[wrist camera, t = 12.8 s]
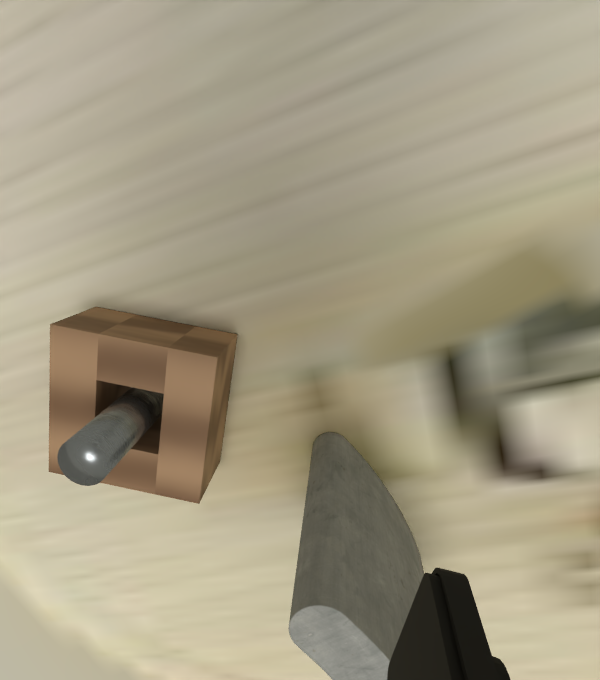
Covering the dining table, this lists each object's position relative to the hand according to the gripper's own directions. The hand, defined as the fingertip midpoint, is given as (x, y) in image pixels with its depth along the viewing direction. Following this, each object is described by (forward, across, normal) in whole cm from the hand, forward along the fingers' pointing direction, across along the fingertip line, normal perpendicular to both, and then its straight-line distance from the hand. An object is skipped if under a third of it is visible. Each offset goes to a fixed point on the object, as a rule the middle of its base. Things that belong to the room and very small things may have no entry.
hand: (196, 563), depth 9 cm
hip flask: (+27, -10, +17) cm, 33 cm away
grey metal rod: (+27, +11, +11) cm, 31 cm away
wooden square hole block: (+27, +11, +11) cm, 31 cm away
